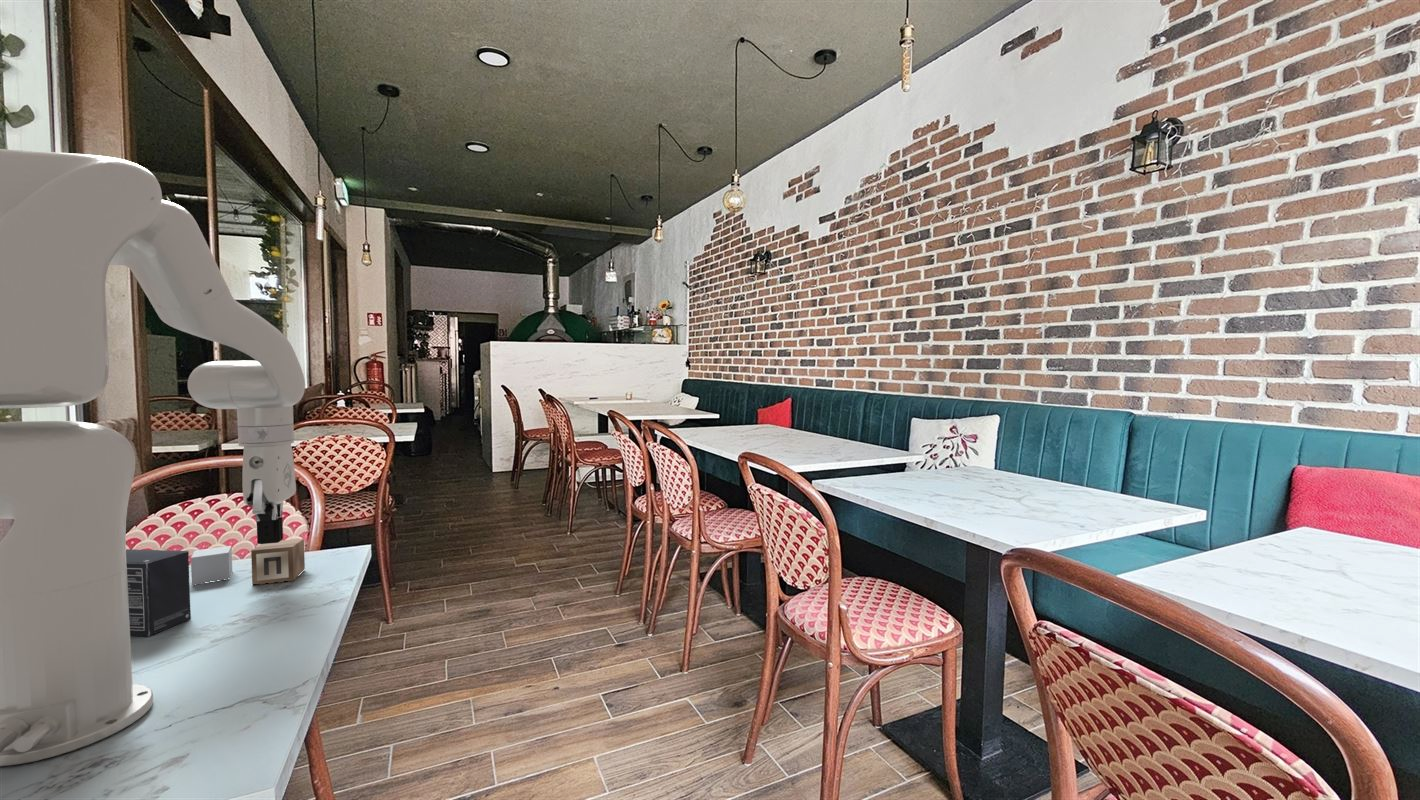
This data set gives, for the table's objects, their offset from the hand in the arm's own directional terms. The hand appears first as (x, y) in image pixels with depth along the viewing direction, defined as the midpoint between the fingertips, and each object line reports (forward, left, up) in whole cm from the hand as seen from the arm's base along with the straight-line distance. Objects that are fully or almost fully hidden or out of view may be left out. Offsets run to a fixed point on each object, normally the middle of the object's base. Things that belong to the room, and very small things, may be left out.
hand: (270, 541), depth 99 cm
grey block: (+7, +11, -8) cm, 15 cm away
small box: (-13, +12, -8) cm, 19 cm away
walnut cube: (+1, 0, -4) cm, 4 cm away
